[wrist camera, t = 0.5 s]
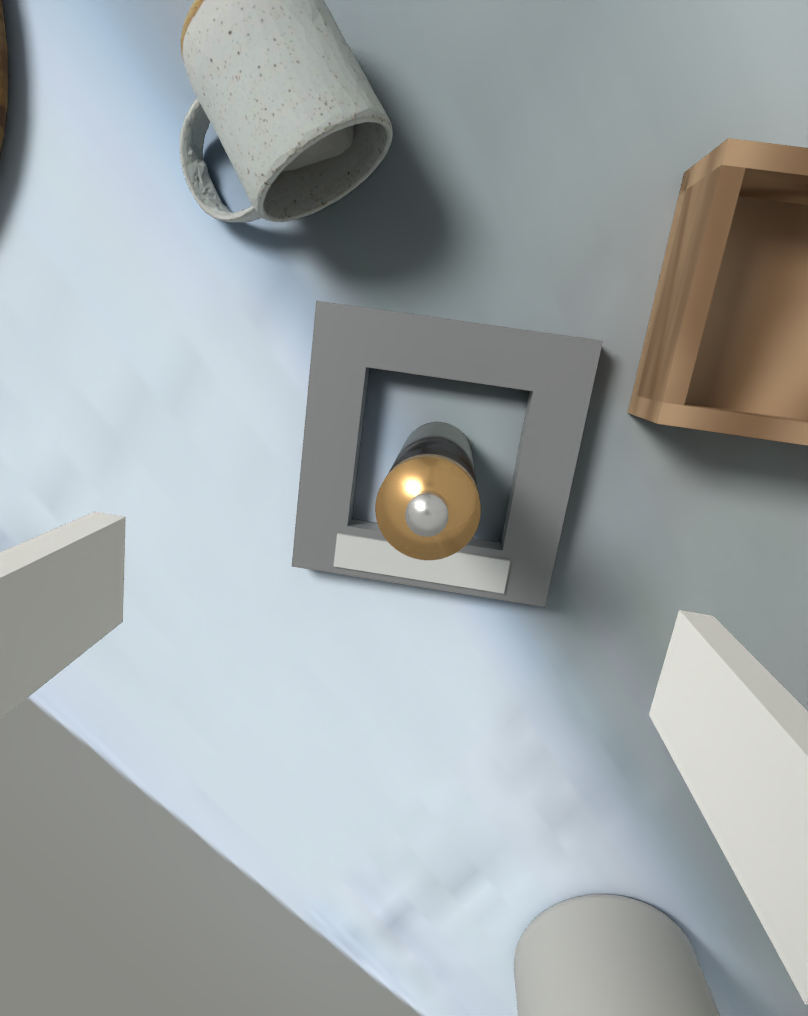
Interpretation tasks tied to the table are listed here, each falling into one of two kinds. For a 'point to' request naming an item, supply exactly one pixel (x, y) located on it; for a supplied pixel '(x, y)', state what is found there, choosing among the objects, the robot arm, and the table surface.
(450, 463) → the battery cell
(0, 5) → the wooden plate with food
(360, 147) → the ceramic mug
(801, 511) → the table surface
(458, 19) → the table surface
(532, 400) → the grey flat square frame
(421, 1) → the table surface
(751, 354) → the walnut trough
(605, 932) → the cylinder vase
